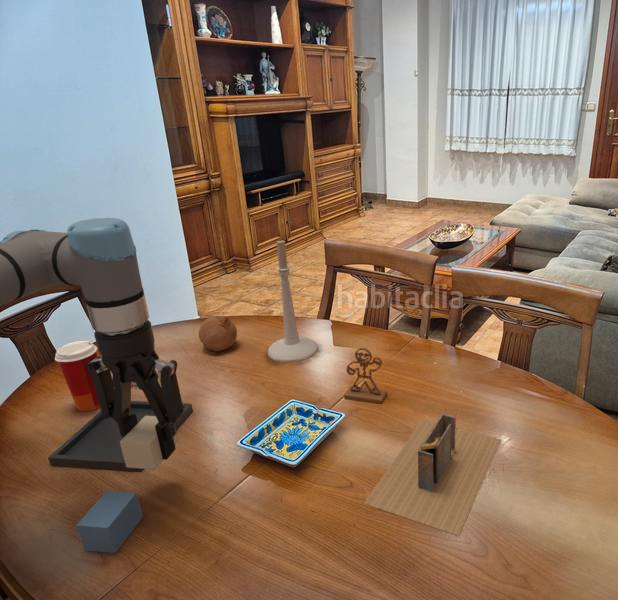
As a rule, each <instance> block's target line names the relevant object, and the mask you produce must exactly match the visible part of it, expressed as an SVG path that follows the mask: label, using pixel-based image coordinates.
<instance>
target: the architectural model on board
mask: <svg viewBox="0 0 618 600" xmlns="http://www.w3.org/2000/svg"><path fill="white" fill-rule="evenodd" d="M456 419H457V417H456V416H453V415H448V414H445V413H442V414H441V415H440V417H439V418H438V420H437V421H436V422H433V421H429V420H425V419H422V420H420V422H419V424H418V425H417V427H416V428H415V429H414V431H413V432H412V434H411V435H410V436H409V438H408V439H407V441H406V442H405V443H404V445H403V447H402V448H401V449H400V450H399V452H398V453H397V455H396V456H395V458H394V460H393V461H392V462H391V463H390V465H389V467H388V469H386V471H385V472H384V474H382V476H381V478H380V479H379V481H378V482H377V483H376V485H375V487H374V488H373V490H372V491H371V492H370V494H368V496H367V498H366V500H364V502H363V504H364V505H367V506H370V507H373V508H376V509H378V510H382V511H385V512H387V513H390V514H394V515H396V516H399V517H402V518H405V519H409V520H411V521H414V522H417V523H419V524H423V525H425V526H429V527H431V528H434V529H437V530H440V531H444V532H446V533H449V534H453V535H456V536H458V537H459V536H460V535H461V532H462V531H463V528H464V526H465V523H466V521H467V519H468V516H469V514H470V511H471V510H472V507H473V505H474V503H475V500H476V498H477V496H478V493H479V491H480V489H481V487H482V484H483V482H484V480H485V477H486V475H487V473H488V470H489V468H490V466H491V464H492V462H493V460H494V457H495V455H496V453H497V451H498V447H499V446H500V444H501V441H502V439H500V438H496V437H492V436H488V435H485V434H480V433H476V432H473V431H468V430H466V429H465V430H464V429H460V428H456V424H457V423H456V422H457V421H456Z"/></svg>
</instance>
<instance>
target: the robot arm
mask: <svg viewBox="0 0 618 600" xmlns="http://www.w3.org/2000/svg"><path fill="white" fill-rule="evenodd" d="M52 286H69V287H80V288H81V290H82V293H83V296H84V298H83V299H84V302H85V305H86V309H87V313H88V318H89V321H90V325H91V329H92V330H94V333H93V335H94V339H95V343H96V347H97V352H98V353H99V356H98V355H97V358H95V359H94V360H92V361H91V362H90V363H88V364H87V365H86V368H87V370H88V371H89V373H90V374H91V376H92V377H93V381H94V385H95V389H96V392H97V396H98V400H99V404H100V407H99V408H100V411H102V415H103V417H104V418H109V417H111V418H113V419H114V420H115V421H116V422H117V423H118V427H119V431H120V435H121V436H122V437H125V436H126V435H127V434H128V433H129V432H130V431H131V430H132V429H133V428H134V427H135V426H136V425H137V424H138V421H137V417H136V414H131V415H130V416H129V413H130V412H131V411H132V410H133V409H132V410H131V408H130V407H131V401H132V386H131V382H134V383H136V384H137V385H136V387H137V388H138V389H139V390H140V391H142V392H143V394H144V396H145V398H146V401H147V402H149V404H150V406H151V408H152V410H153V412H154V414H155V416H156V418H157V420H158V423H157V424H156V425H155V429H156V433H157V436H158V441H159V445H160V449H161V454H162V458H163V459H164V460H165V461H167V460H168V459H169V458H170V457H171V455H173V453H174V452H175V451H176V448H177V447H176V445H175V443H174V439H173V437H174V436H175V435H176V433H177V430H175V425H174V423H175V422H176V421H177V420H178V419H179V418H180V416H181V415H182V414H183V413H184V409H183V404H182V403H183V399H182V395H181V391H180V386H179V382H178V378H177V377H178V376H177V369H178V362H177V361H176V360H175V359H171V360H170V361H166V360H163V359H160V356H159V355H158V353H157V352H155V351H156V349H155V350H154V345H155V337H154V331H153V326H152V322H151V321H150V320H149V319H150V314H149V310H148V304H147V300H146V296H145V292H144V291H145V290H144V288H143V283H142V278H141V272H140V268H139V262H138V256H137V247H136V245H135V243H134V239H133V236H132V234H131V230H130V226H129V225H128V223H127V222H126V221H124V220H123V219H120V218H118V217H104V218H102V217H101V218H100V217H99V218H98V217H97V218H88V219H84V220H79V221H77V222H73V223H72V224H70V225H69V226H68V227H67V231H66V232H59V231H48V230H44V229H41V230H40V229H29V230H15V231H13V232H10V233H8V234H6V236H5V237H4V238H3V239H2V240H1V241H0V307H3V306H5V305H8V304H9V303H11V302H15V301H17V300H21V299H22V298H26V297H28V296H30V295H32V294H35V293H37V292H40V291H43V290H45V289H47V288H50V287H52ZM155 368H157V369H158V375H157V373H156V371H155ZM109 405H110V407H109ZM164 460H163V461H164Z"/></svg>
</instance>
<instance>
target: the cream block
mask: <svg viewBox="0 0 618 600" xmlns="http://www.w3.org/2000/svg"><path fill="white" fill-rule="evenodd" d="M157 423H158V420H157V418H156V416H145V417H144V418H143V419H142V420H141V421H140V422H139V423H138V424H137V425H136V426H135V427H134V428H133V429H132V430H131V431H130V432H129V433H128V434H127V435H126V436H125V437H124V438H123V439H122V440H121V441H120V445H121V449H122V453H123V456H124V460H125V464H126V467H129V468H141V469H143V470H157V469H158V467H159V466H160V465H161V464H162V462H163V461H164V459H163V458H162V454H161V449H160V445H159V441H158V436H157V433H156V429H155V425H156V424H157ZM174 425H175V424H174ZM175 430H176V429H175ZM176 431H177V430H176ZM173 439H174V443H175V446H176V445H178V443H179V440H178V433H177V432H176V435H175V436H174V437H173Z"/></svg>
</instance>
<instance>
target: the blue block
mask: <svg viewBox="0 0 618 600" xmlns="http://www.w3.org/2000/svg"><path fill="white" fill-rule="evenodd" d="M143 517H144V515H143V512H142V509H141V505H140V501H139V498H138V493H137V492H130V491H129V492H128V491H117V490H116V491H115V490H106V491H105V492H104V494H103V495H102V496H101V497H100V498H99V499H98V500H97V501H96V502H95V504H93V506H92V507H91V508H90V509H89V510H88V511H87V513H85V515H84V516H83V517H82V518H81V519H80V521H79V522H78V523H77V524H76V530H77V531H78V534H79V538H80V540H81V543H82V546H83V549H84V551H86V552H98V553H99V552H100V553H109V554H110V553H111V554H117V552H118V551H119V549H120V548H121V547H122V546H123V545H124V544H125V542H126V541H127V539H128V538H129V537H130V535H131V534H132V532H133V531H134V530H135V528H136V527H137V526H138V524H139V523H140V522H141V520H142V519H143Z"/></svg>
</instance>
